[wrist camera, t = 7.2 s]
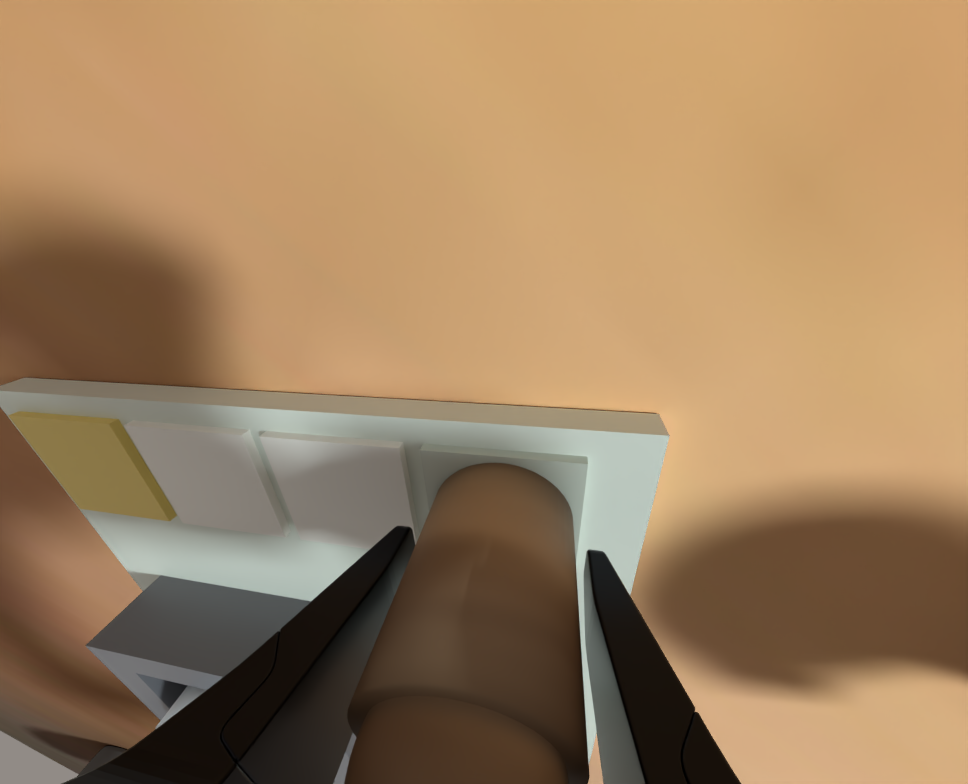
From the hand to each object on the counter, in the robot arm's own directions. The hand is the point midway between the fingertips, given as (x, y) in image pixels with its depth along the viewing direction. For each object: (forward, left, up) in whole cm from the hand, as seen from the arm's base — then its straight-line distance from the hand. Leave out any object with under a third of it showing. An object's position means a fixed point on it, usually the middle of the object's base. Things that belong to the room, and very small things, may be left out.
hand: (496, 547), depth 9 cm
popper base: (-11, +11, -2) cm, 16 cm away
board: (-7, +7, -2) cm, 10 cm away
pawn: (0, 0, -1) cm, 1 cm away
